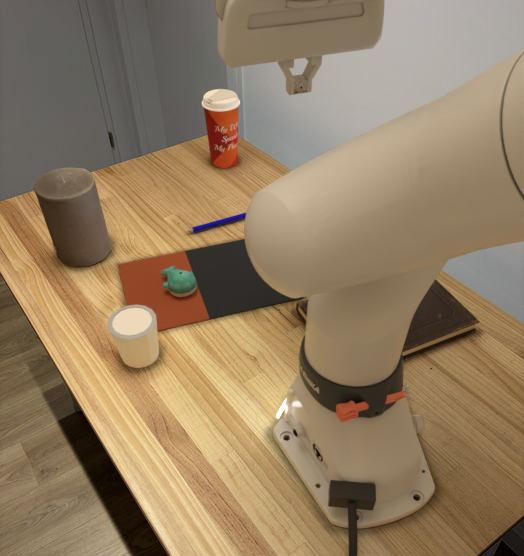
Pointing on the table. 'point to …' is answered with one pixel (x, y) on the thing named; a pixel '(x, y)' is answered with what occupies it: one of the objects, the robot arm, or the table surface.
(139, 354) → the jar candle
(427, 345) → the hardcover book
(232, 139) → the paper cup
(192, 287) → the whale figurine
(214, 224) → the pencil
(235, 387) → the table surface
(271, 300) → the mat
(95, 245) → the pillar candle
